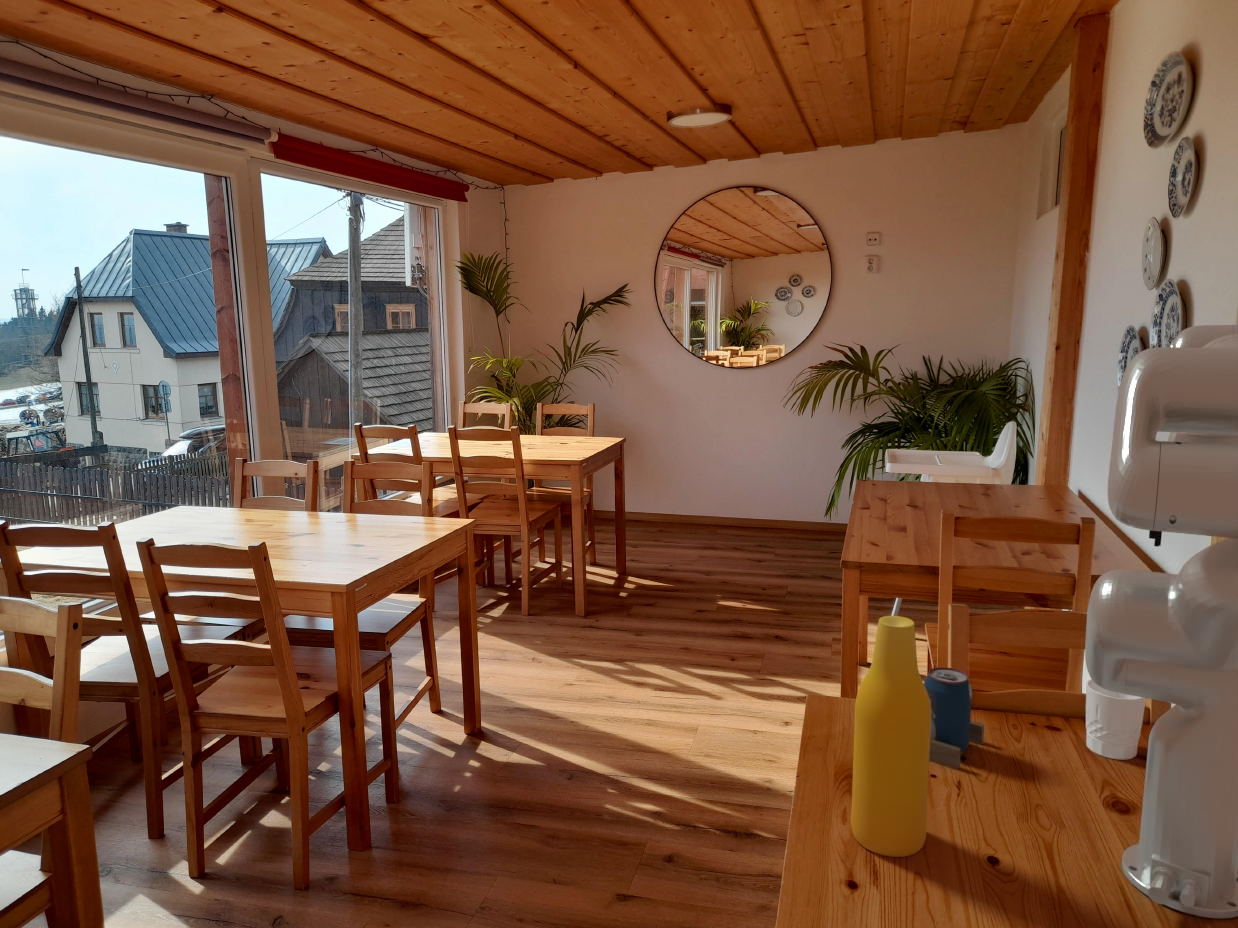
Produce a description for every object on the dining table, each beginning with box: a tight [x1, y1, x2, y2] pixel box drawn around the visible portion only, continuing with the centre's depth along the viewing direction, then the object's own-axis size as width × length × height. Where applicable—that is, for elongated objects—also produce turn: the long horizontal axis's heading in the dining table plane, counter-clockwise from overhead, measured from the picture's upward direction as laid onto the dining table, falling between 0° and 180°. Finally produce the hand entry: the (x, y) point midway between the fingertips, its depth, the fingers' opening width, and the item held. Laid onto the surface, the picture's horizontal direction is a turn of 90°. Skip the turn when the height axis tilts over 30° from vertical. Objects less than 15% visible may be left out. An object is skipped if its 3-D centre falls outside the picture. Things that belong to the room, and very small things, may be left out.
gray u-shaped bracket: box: [929, 719, 985, 770], centre depth 131 cm, size 11×9×3 cm
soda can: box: [923, 666, 973, 755], centre depth 130 cm, size 7×7×12 cm
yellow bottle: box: [850, 615, 931, 858], centre depth 106 cm, size 9×9×29 cm
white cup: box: [1085, 678, 1147, 761], centre depth 129 cm, size 8×8×10 cm
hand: (1200, 549), depth 112 cm, fingers open, 9 cm apart
